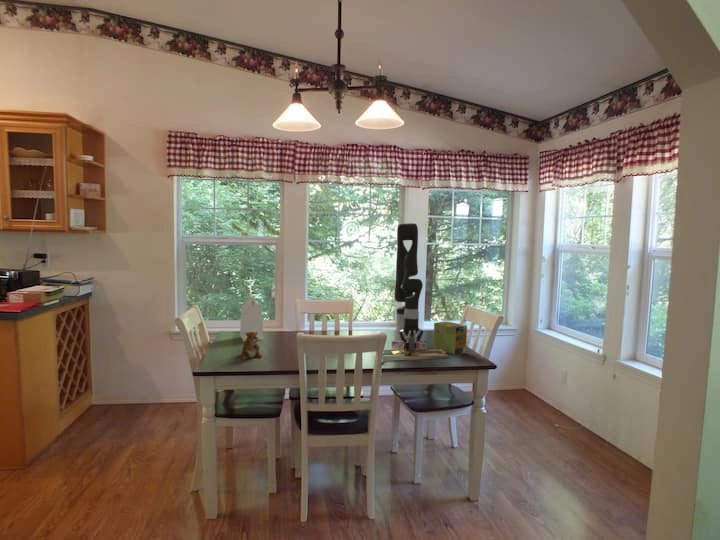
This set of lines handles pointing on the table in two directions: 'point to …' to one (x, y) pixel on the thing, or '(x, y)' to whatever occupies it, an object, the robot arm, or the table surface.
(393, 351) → the chip
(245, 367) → the table surface
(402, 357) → the tray
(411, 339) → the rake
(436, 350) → the slot board
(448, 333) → the protein box
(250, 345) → the stuffed squirrel
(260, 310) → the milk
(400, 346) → the candy bar box
